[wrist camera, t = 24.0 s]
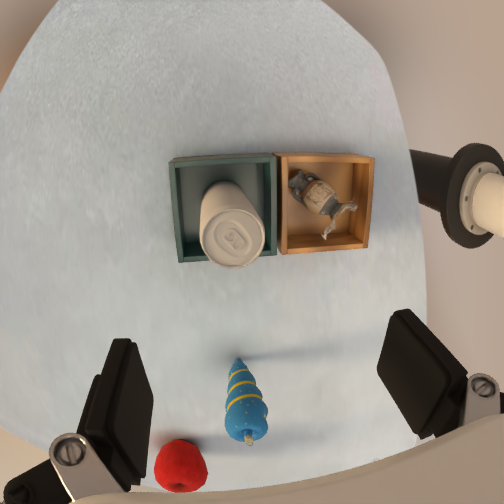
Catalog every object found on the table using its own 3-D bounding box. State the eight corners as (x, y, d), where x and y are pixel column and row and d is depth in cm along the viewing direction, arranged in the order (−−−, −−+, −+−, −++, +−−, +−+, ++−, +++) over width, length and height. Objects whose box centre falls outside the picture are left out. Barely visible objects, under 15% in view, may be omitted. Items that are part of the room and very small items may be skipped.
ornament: (248, 374, 44) (265, 457, 30) (214, 368, 42) (222, 455, 29) (259, 348, 42) (282, 434, 28) (224, 342, 41) (235, 431, 27)
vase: (301, 226, 35) (271, 185, 32) (335, 197, 35) (309, 155, 32) (323, 241, 30) (291, 195, 28) (362, 208, 30) (334, 160, 27)
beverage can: (226, 170, 32) (238, 192, 21) (255, 204, 34) (280, 242, 23) (191, 199, 32) (185, 236, 21) (221, 231, 34) (229, 282, 23)
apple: (190, 460, 52) (192, 504, 42) (147, 446, 49) (144, 492, 39) (215, 440, 50) (220, 488, 40) (169, 425, 46) (167, 476, 36)
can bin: (267, 152, 32) (276, 156, 28) (268, 240, 36) (276, 255, 32) (173, 158, 31) (168, 162, 27) (181, 246, 35) (178, 263, 31)
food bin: (355, 153, 33) (374, 158, 29) (350, 234, 37) (367, 247, 33) (271, 152, 32) (281, 156, 28) (272, 239, 36) (281, 255, 32)
